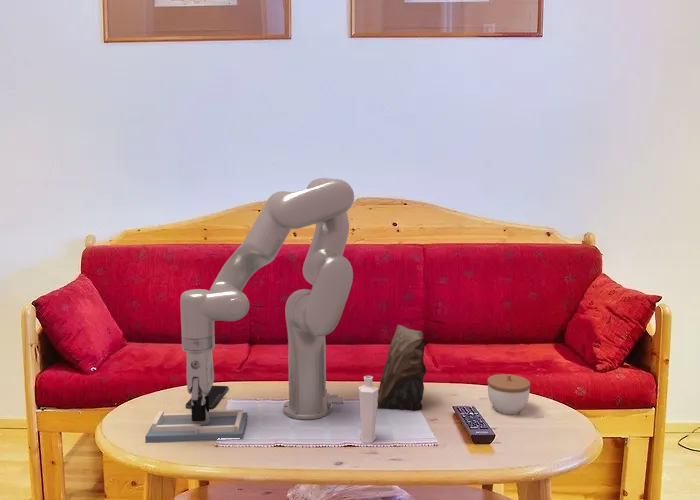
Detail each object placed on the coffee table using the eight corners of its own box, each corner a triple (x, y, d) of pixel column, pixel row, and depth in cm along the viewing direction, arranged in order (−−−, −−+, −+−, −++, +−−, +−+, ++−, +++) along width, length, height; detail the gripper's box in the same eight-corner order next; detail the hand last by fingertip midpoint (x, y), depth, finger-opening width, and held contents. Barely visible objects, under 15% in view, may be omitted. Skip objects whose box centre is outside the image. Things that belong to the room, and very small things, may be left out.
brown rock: (390, 391, 170) (391, 322, 167) (434, 398, 165) (435, 327, 162) (374, 408, 158) (375, 334, 156) (421, 416, 154) (423, 339, 151)
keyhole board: (247, 418, 152) (247, 404, 152) (242, 439, 140) (242, 425, 140) (158, 420, 151) (157, 407, 150) (145, 442, 139) (144, 428, 138)
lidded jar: (526, 420, 151) (528, 384, 150) (483, 414, 155) (484, 378, 154) (531, 405, 161) (532, 371, 159) (490, 399, 165) (491, 366, 163)
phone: (184, 405, 158) (202, 385, 173) (184, 410, 158) (203, 388, 173) (213, 406, 157) (229, 385, 172) (213, 411, 157) (230, 389, 172)
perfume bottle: (364, 445, 137) (364, 382, 135) (355, 438, 141) (355, 376, 139) (381, 441, 139) (382, 378, 137) (372, 434, 143) (372, 373, 141)
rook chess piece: (213, 422, 145) (213, 390, 144) (197, 428, 142) (196, 396, 141) (203, 417, 148) (202, 386, 147) (187, 423, 145) (186, 391, 144)
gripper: (209, 353, 134) (211, 431, 137) (219, 332, 151) (221, 402, 154) (174, 353, 134) (177, 432, 136) (188, 332, 150) (191, 403, 153)
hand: (200, 415), depth 145 cm, fingers closed on rook chess piece, 4 cm apart
